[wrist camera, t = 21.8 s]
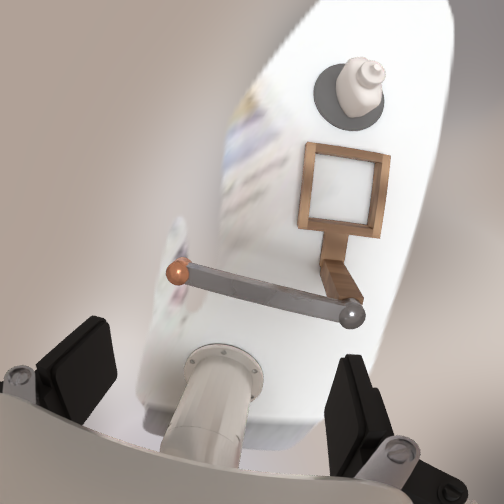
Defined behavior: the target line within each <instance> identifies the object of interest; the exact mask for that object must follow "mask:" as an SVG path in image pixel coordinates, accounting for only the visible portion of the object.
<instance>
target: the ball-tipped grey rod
mask: <svg viewBox="0 0 504 504" xmlns="http://www.w3.org/2000/svg"><path fill="white" fill-rule="evenodd" d="M166 276H167V279H168V280H169V281H170V282H171V283H172V284H174V285H183V284H186V285H190V286H194V287H197V288H201V289H204V290H208V291H212V292H215V293H219V294H223V295H227V296H230V297H234V298H238V299H242V300H246V301H250V302H254V303H258V304H262V305H266V306H270V307H274V308H278V309H282V310H286V311H290V312H295V313H299V314H303V315H308V316H312V317H316V318H321V319H325V320H330V321H334V322H339V323H340V324H341V325H342V326H343V327H344V328H346V329H355V328H358V327H359V326H361V325H362V324H363V322H364V320H365V317H366V314H365V311H364V309H363V307H362V305H361V303H360V302H359V301H358V300H356V299H353V298H349V299H345V300H344V301H342V300H338V299H333V298H329V297H325V296H321V295H317V294H312V293H308V292H304V291H300V290H296V289H292V288H288V287H284V286H280V285H276V284H272V283H268V282H264V281H260V280H256V279H252V278H248V277H244V276H240V275H236V274H232V273H228V272H225V271H221V270H217V269H213V268H209V267H206V266H202V265H198V264H194V263H192V262H191V261H190V260H189V259H187V258H185V257H180V258H177V259H176V260H175V261H174V262H173V263H171V264H170V265H169V266H168V267H167V270H166Z"/></svg>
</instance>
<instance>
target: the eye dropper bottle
mask: <svg viewBox="0 0 504 504" xmlns="http://www.w3.org/2000/svg"><path fill="white" fill-rule="evenodd" d="M385 77H386V74H385V69H384V68H383V66H382V65H381V64H380V63H378V62H376V61H371V60H368V59H366V58H364V57H357V58H351V59H349V60H348V61H347V63H346V64H345V66H344V68H343V69H342V71H341V73H340V74H339V76H338V78H337V81H336V94H337V98H338V101H339V104H340V106H341V108H342V109H343V111H344V112H345V114H346V115H347V116H348V117H350V118H354V117H361V116H363V115H365V114H367V113H368V112H370V111H371V110H373V109H374V108H376V107H377V106H378V105H379V104H380V102H381V98H382V84H381V83H382V82H383V81H384V79H385Z"/></svg>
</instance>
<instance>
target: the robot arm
mask: <svg viewBox="0 0 504 504" xmlns="http://www.w3.org/2000/svg"><path fill="white" fill-rule="evenodd" d="M36 367H37V370H36V371H34V370H33V369H32V368H30V367H29V366H24V365H20V366H15V367H13V368H11V369H10V370H8V371H7V372H6V374H5V376H4V381H2V382H0V504H478V503H477V502H476V501H475V500H473V501H472V502H471V501H470V500H468V499H467V498H468V490H467V487H466V486H465V484H464V483H463V482H462V481H460V480H459V479H457V478H455V477H453V476H451V475H449V474H447V473H445V472H443V471H441V470H439V469H437V468H435V467H433V466H431V465H429V464H427V463H425V462H423V461H422V460H420V459H419V458H420V455H421V454H420V448H419V446H418V445H417V443H416V442H415V441H414V440H412V439H410V438H408V437H405V436H400V435H396V436H394V433H393V430H392V427H391V424H390V420H389V417H388V414H387V412H386V409H385V406H384V403H383V400H382V397H381V394H380V392H379V390H378V388H372V385H371V382H370V379H369V376H368V373H367V370H366V367H365V364H364V361H363V359H362V356H361V355H353V354H347V355H346V356H345V358H340V361H339V364H338V368H337V371H336V374H335V378H334V381H333V384H332V387H331V390H330V394H329V397H328V400H327V403H326V406H325V411H324V417H325V426H326V435H327V445H328V455H329V467H330V476H313V475H293V474H280V473H269V472H260V471H251V470H243V469H238V468H239V462H240V457H241V451H242V446H243V440H244V434H245V428H246V423H247V417H248V411H249V405H250V402H252V401H253V400H255V399H256V398H257V397H258V396H259V394H260V392H261V390H262V387H263V380H264V379H263V373H262V370H261V367H260V366H259V364H258V363H257V361H256V360H255V359H254V358H253V357H252V356H250V355H249V354H248V353H246V352H244V351H242V350H240V349H238V348H235V347H233V346H228V345H223V344H213V345H207V346H204V347H201V348H199V349H197V350H195V351H194V352H193V353H192V354H191V355H190V356H189V358H188V359H187V361H186V364H185V367H184V377H185V381H186V383H187V386H186V388H185V390H184V393H183V395H182V397H181V399H180V402H179V404H178V406H177V408H176V411H175V413H174V415H173V417H172V420H171V422H170V424H169V426H168V429H167V431H166V433H165V435H164V438H163V440H162V442H161V446H160V452H157V451H153V450H150V449H146V448H143V447H139V446H136V445H133V444H130V443H127V442H124V441H121V440H118V439H116V438H113V437H110V436H107V435H105V434H102V433H99V432H97V431H94V430H92V429H89V428H87V427H84V426H82V425H83V424H84V422H85V421H86V420H87V418H88V417H89V416H90V414H91V413H92V411H93V410H94V408H95V407H96V406H97V405H98V403H99V402H100V400H101V399H102V398H103V396H104V395H105V393H106V392H107V391H108V390H109V388H110V387H111V386H112V384H113V383H114V382H115V380H116V378H117V368H116V363H115V358H114V353H113V346H112V340H111V334H110V327H109V324H108V323H107V322H106V320H105V319H104V318H101V317H97V316H91V317H90V318H88V319H87V320H86V321H85V322H84V323H82V324H81V325H80V326H79V327H78V328H77V329H75V330H74V331H73V332H72V333H71V334H70V335H68V336H67V337H66V338H65V339H64V340H63V341H61V343H59V344H58V345H57V346H56V347H55V348H54V349H52V350H51V351H50V352H49V353H48V354H47V355H46V356H45V357H43V358H42V359H41V360H40V361H39V362H38V363H37V364H36Z"/></svg>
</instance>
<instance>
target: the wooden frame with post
mask: <svg viewBox="0 0 504 504" xmlns="http://www.w3.org/2000/svg"><path fill="white" fill-rule="evenodd" d="M315 153H316V154H323V155H330V156H337V157H344V158H350V159H356V160H362V161H368V162H373V163H375V167H374V177H373V185H372V193H371V201H370V208H369V215H368V222H367V225H365V224H357V223H350V222H343V221H335V220H327V219H319V218H311V217H309V208H310V200H311V191H312V182H313V172H314V162H315ZM390 159H391V156H390V155H385V154H380V153H375V152H370V151H364V150H358V149H353V148H346V147H340V146H334V145H327V144H320V143H312V142H307V143H306V145H305V156H304V166H303V176H302V186H301V195H300V204H299V213H298V222H297V225H298V229H307V230H316V231H324V236H323V243H322V250H321V256H320V263H319V265H320V267H321V271H320V276H321V279H322V282H323V285H324V288H325V291H326V295H327V297H329V298H333V299H338V300H342V301H344V300H345V299H349V298H353V299H356V300H358V301H359V302H360V303H361V305H362V304H363V300H364V297H363V296H362V294H361V292H360V290H359V289H358V287H357V285H356V283H355V282H354V280H353V278H352V277H351V275H350V273H349V271H348V270H347V268H346V266H345V265H344V260H345V254H346V248H347V242H348V236H349V235H356V236H364V237H371V238H379V239H380V234H381V229H382V222H383V216H384V209H385V202H386V195H387V187H388V179H389V169H390Z"/></svg>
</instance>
